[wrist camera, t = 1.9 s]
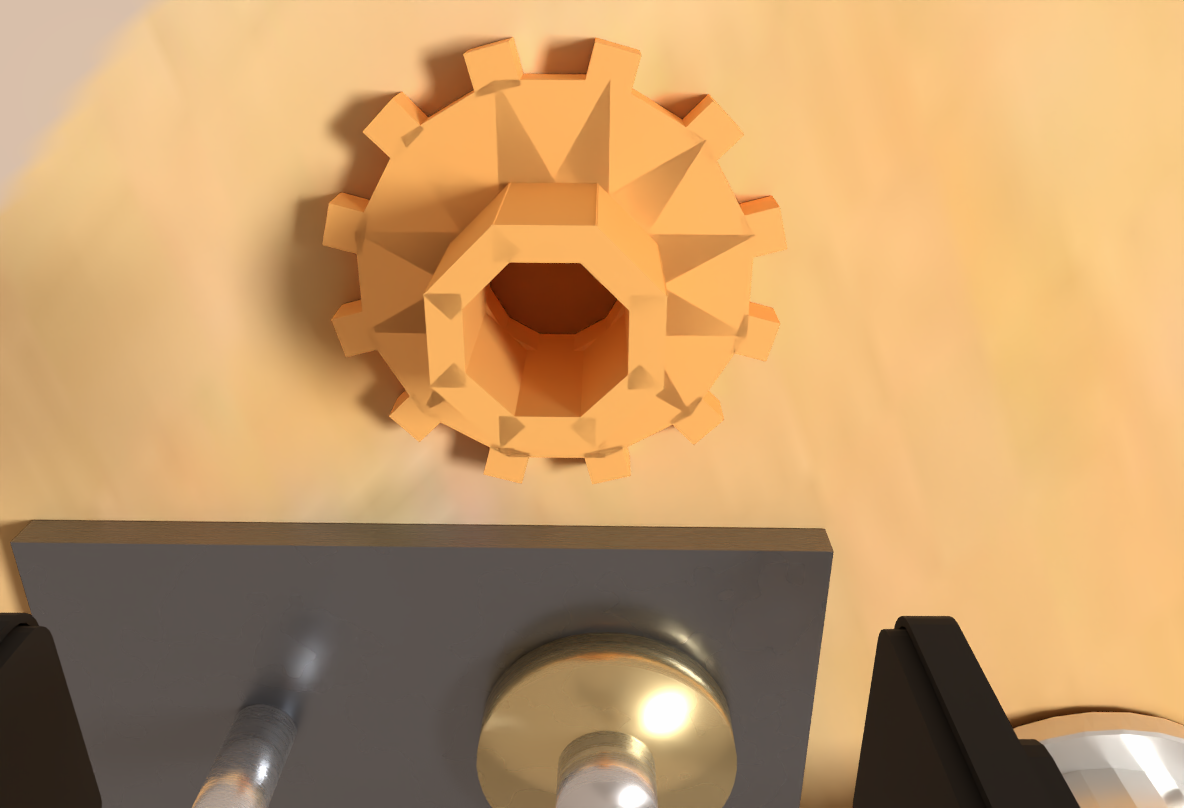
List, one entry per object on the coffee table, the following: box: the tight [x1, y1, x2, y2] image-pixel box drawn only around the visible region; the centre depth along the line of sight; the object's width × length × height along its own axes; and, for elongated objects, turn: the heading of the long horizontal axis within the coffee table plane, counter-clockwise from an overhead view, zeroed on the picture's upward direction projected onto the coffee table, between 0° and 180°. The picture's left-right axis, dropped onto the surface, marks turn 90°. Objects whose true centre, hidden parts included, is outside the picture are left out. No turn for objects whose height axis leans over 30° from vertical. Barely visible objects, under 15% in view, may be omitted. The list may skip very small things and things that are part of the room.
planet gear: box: [322, 37, 787, 484], centre depth 23 cm, size 12×12×5 cm
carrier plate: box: [10, 520, 833, 808], centre depth 29 cm, size 24×14×7 cm, turn 90°
